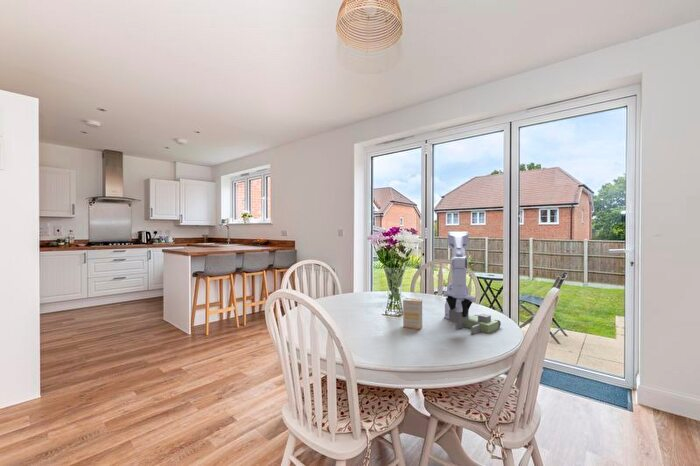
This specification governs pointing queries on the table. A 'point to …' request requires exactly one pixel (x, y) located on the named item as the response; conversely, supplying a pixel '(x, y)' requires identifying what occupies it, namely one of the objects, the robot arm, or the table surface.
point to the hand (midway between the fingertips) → (458, 315)
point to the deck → (480, 324)
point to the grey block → (457, 316)
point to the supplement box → (412, 313)
